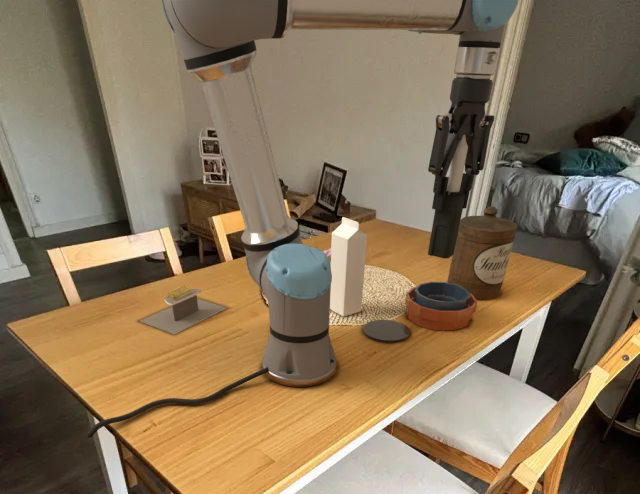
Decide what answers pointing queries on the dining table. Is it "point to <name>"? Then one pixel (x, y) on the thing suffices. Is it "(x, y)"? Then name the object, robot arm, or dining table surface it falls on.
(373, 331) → the slate coaster
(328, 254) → the rabbit figure
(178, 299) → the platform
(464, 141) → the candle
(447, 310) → the stacked bowls
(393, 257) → the dining table surface
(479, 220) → the wooden container
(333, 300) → the milk
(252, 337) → the dining table surface
